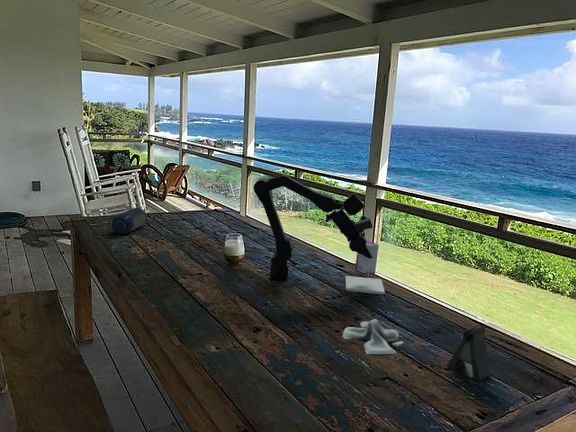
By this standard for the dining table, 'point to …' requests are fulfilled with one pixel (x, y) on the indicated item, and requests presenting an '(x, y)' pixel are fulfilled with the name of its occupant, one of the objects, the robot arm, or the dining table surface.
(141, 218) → the portable speaker
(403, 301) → the dining table surface
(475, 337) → the phone stand
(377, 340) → the cloth
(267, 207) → the robot arm
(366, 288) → the mat
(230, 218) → the dining table surface
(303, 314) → the dining table surface
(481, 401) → the dining table surface
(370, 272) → the supplement box
